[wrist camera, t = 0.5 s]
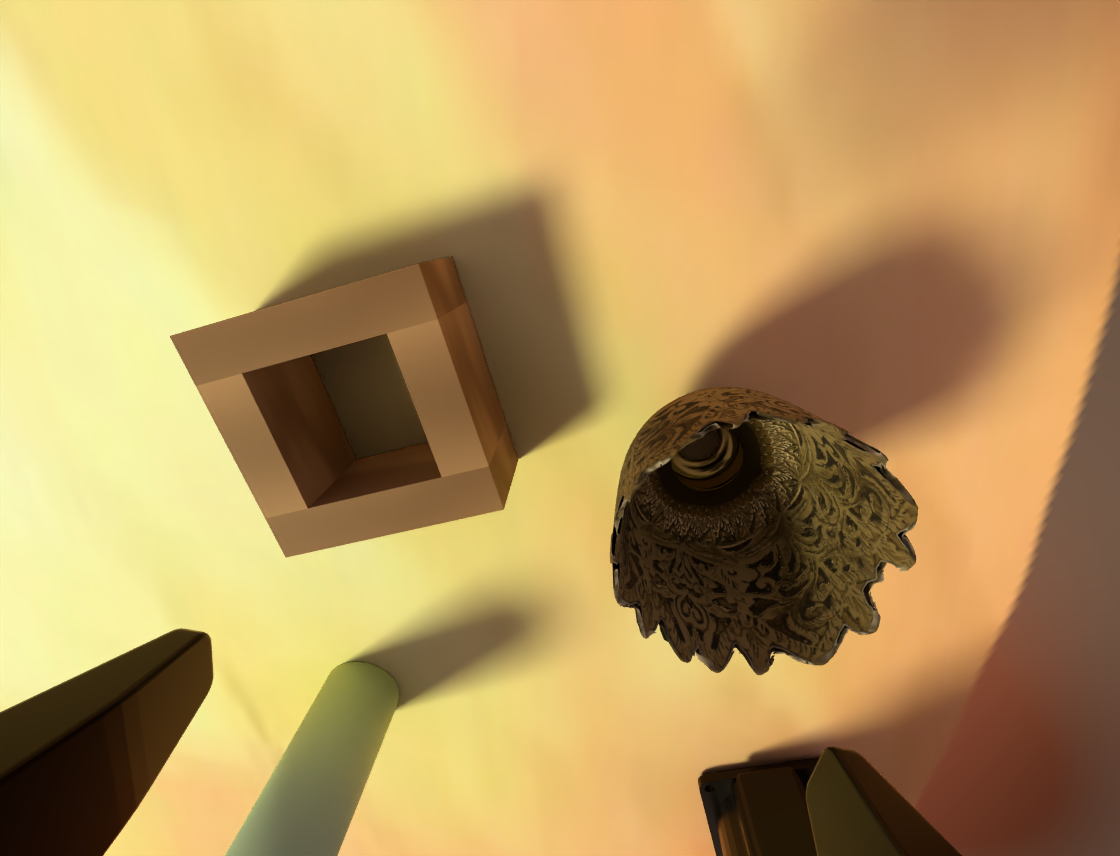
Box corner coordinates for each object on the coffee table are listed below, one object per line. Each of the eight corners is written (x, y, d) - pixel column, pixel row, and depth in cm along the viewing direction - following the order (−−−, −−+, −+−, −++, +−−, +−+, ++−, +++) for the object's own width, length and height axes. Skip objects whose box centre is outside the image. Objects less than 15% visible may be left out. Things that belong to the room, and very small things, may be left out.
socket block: (518, 459, 21) (503, 509, 17) (336, 501, 22) (285, 557, 18) (452, 256, 18) (418, 263, 15) (249, 315, 19) (169, 336, 16)
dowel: (410, 711, 26) (327, 939, 18) (344, 722, 27) (232, 950, 18) (383, 655, 25) (280, 872, 17) (314, 668, 25) (180, 885, 17)
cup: (640, 319, 19) (676, 379, 11) (830, 379, 19) (985, 474, 12) (578, 495, 22) (573, 637, 14) (747, 544, 22) (830, 707, 14)
